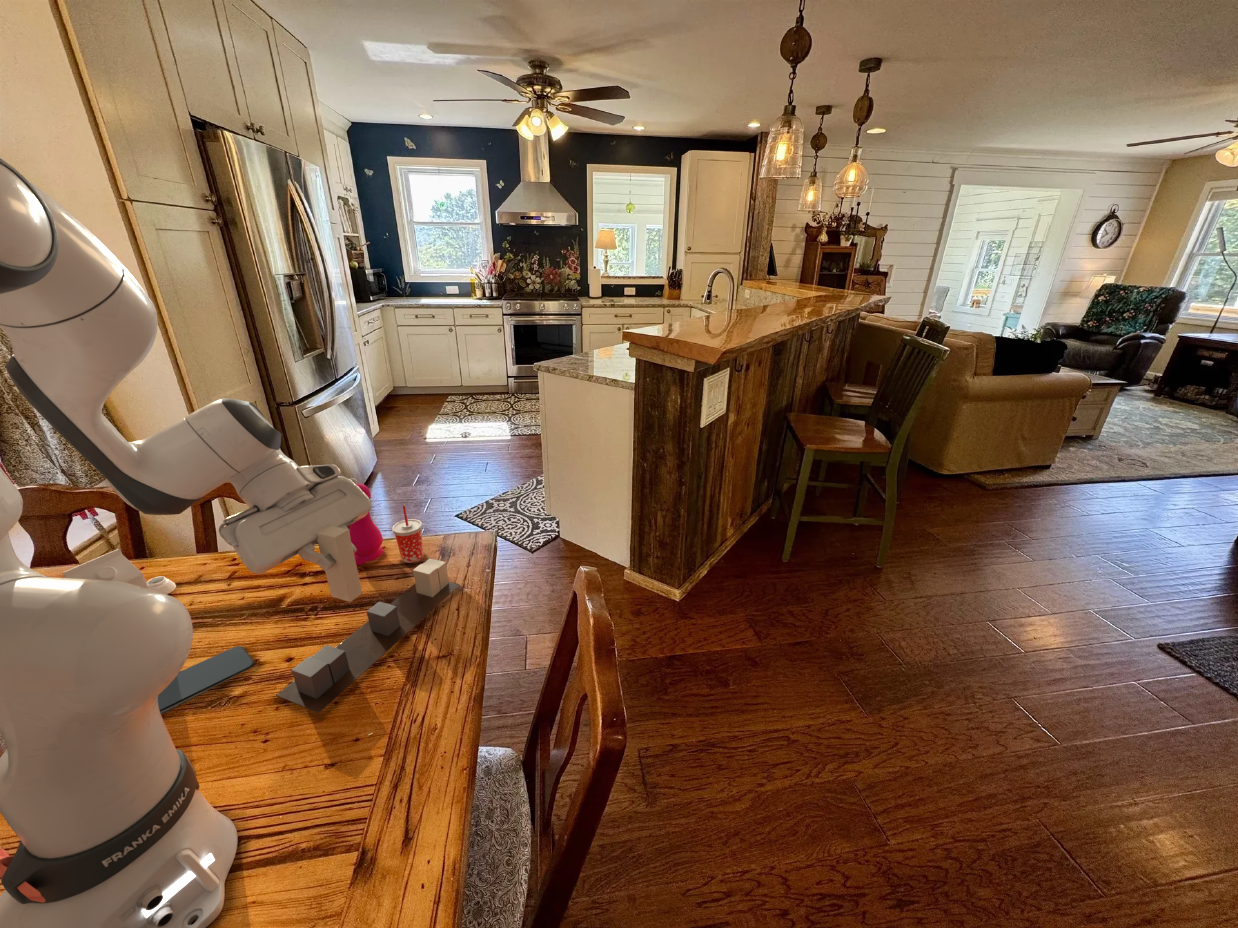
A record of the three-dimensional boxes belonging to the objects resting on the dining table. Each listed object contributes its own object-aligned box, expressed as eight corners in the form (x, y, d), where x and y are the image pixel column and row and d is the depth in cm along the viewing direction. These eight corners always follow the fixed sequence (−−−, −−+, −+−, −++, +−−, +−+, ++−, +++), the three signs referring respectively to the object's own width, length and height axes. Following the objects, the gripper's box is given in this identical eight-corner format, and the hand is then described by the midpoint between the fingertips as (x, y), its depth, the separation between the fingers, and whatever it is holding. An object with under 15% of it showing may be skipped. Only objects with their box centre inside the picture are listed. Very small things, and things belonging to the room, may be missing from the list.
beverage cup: (421, 568, 109) (411, 512, 103) (393, 567, 109) (383, 511, 104) (431, 552, 115) (423, 499, 109) (405, 552, 115) (395, 498, 109)
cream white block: (432, 597, 98) (429, 574, 96) (416, 592, 99) (412, 570, 97) (448, 583, 102) (445, 560, 100) (433, 578, 104) (429, 556, 102)
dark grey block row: (317, 698, 75) (310, 677, 74) (297, 691, 77) (291, 669, 75) (400, 625, 90) (396, 606, 89) (383, 620, 92) (379, 601, 90)
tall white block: (350, 602, 79) (334, 537, 74) (331, 596, 80) (315, 532, 75) (362, 593, 81) (348, 529, 76) (344, 587, 82) (329, 524, 77)
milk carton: (97, 663, 82) (48, 568, 75) (146, 634, 89) (105, 544, 81) (125, 673, 80) (77, 577, 73) (173, 644, 87) (133, 552, 79)
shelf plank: (320, 717, 73) (319, 712, 73) (277, 699, 76) (275, 695, 76) (460, 588, 102) (460, 584, 102) (425, 579, 105) (425, 575, 105)
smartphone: (256, 663, 81) (134, 722, 70) (259, 671, 82) (138, 731, 71) (240, 642, 86) (122, 695, 74) (242, 650, 86) (126, 704, 75)
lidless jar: (137, 597, 98) (155, 602, 97) (132, 585, 97) (149, 590, 96) (165, 583, 103) (182, 588, 101) (161, 571, 101) (177, 576, 100)
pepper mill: (372, 568, 108) (354, 487, 101) (343, 564, 110) (324, 483, 102) (392, 551, 115) (377, 473, 107) (365, 547, 116) (348, 470, 108)
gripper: (217, 513, 66) (287, 589, 67) (343, 460, 84) (397, 521, 85) (205, 535, 69) (272, 608, 70) (329, 480, 87) (381, 538, 88)
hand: (341, 560), depth 78 cm, fingers closed on tall white block, 2 cm apart
